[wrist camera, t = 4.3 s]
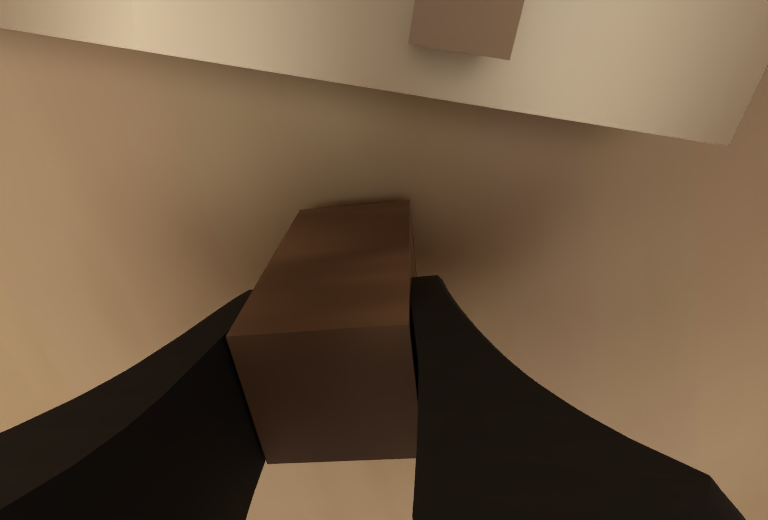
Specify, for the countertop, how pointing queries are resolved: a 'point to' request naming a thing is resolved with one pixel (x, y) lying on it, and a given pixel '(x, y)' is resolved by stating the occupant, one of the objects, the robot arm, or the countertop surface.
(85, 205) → the countertop surface
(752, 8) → the lid
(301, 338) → the brown wooden block
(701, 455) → the countertop surface
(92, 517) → the robot arm
